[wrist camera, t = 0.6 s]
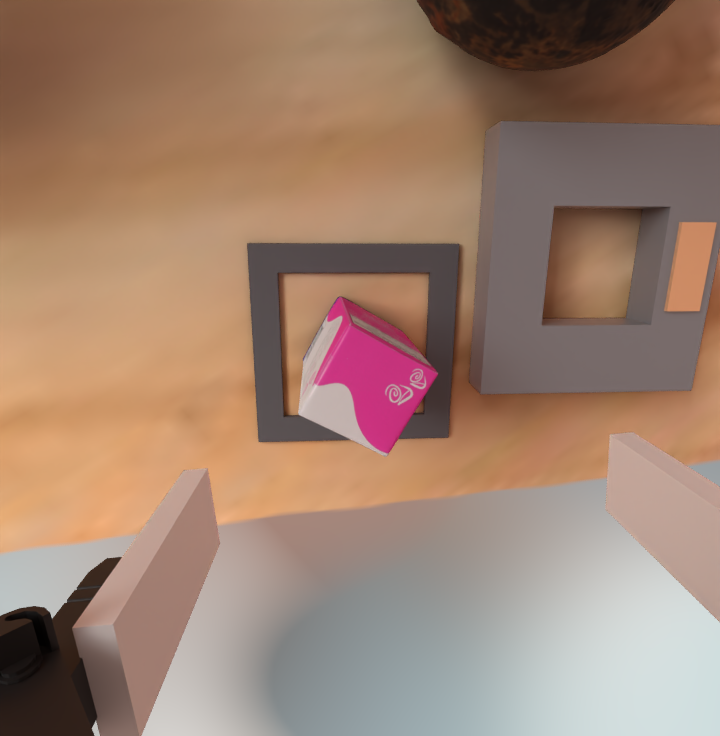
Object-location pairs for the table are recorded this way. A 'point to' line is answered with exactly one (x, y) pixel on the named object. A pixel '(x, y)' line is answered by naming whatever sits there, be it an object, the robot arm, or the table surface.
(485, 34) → the glass bottle
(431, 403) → the flat grey square frame
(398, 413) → the supplement box
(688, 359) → the socket plate
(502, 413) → the table surface
